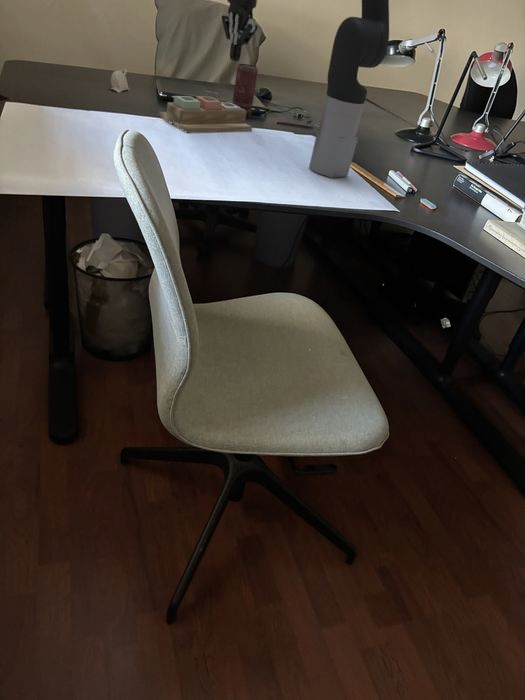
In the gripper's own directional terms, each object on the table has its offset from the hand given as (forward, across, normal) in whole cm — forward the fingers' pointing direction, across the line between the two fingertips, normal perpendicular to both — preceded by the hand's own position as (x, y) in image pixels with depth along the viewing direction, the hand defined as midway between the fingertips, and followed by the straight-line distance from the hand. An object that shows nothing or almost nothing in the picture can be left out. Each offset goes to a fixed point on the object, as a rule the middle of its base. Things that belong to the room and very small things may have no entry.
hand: (234, 60), depth 140 cm
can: (+17, +7, -11) cm, 21 cm away
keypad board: (+16, 0, +7) cm, 18 cm away
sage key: (+12, 0, +14) cm, 19 cm away
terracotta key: (+13, 0, +7) cm, 14 cm away
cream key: (+14, 0, 0) cm, 14 cm away
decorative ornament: (+16, +34, +16) cm, 41 cm away
